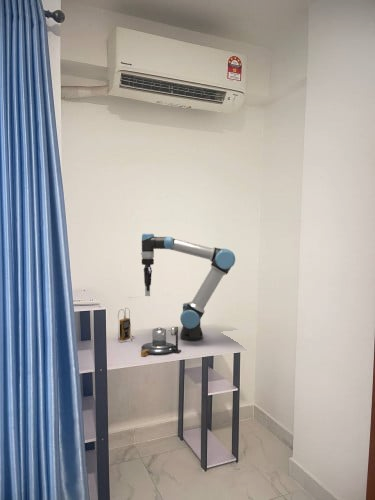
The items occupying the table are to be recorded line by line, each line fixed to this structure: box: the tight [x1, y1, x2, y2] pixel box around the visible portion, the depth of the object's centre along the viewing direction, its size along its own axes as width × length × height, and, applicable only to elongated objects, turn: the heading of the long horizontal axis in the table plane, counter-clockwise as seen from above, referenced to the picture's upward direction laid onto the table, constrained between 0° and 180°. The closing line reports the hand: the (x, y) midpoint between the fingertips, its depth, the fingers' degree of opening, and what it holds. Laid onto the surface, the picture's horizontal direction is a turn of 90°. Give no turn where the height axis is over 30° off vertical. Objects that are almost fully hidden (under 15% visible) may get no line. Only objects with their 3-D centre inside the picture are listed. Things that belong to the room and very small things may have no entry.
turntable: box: [140, 341, 176, 357], centre depth 213 cm, size 24×20×2 cm
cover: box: [150, 327, 169, 350], centre depth 214 cm, size 11×11×11 cm
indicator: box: [167, 326, 182, 354], centre depth 211 cm, size 7×5×14 cm
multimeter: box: [117, 307, 135, 343], centre depth 235 cm, size 15×10×20 cm
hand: (147, 295), depth 229 cm, fingers closed
